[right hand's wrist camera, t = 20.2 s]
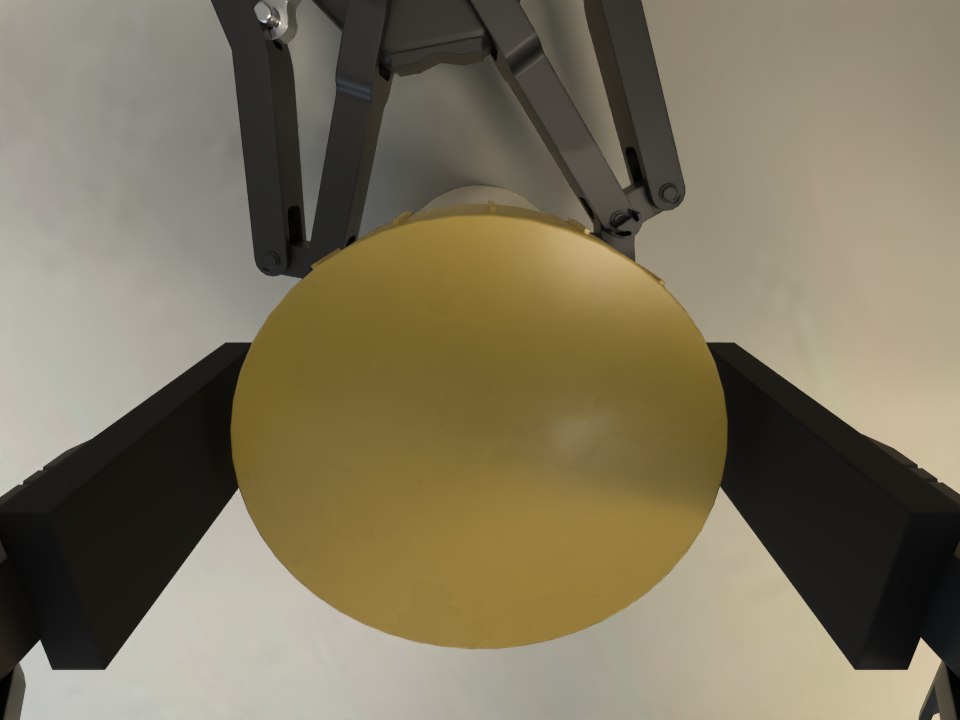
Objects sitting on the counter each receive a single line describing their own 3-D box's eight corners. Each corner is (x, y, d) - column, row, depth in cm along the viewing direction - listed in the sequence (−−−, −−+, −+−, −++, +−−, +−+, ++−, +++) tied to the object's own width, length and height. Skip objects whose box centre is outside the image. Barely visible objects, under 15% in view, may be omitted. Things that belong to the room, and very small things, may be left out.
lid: (291, 569, 14) (256, 645, 12) (252, 186, 10) (193, 193, 8) (648, 583, 14) (678, 660, 12) (725, 211, 10) (787, 223, 8)
